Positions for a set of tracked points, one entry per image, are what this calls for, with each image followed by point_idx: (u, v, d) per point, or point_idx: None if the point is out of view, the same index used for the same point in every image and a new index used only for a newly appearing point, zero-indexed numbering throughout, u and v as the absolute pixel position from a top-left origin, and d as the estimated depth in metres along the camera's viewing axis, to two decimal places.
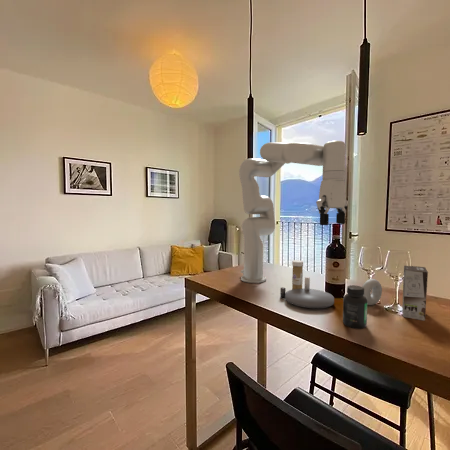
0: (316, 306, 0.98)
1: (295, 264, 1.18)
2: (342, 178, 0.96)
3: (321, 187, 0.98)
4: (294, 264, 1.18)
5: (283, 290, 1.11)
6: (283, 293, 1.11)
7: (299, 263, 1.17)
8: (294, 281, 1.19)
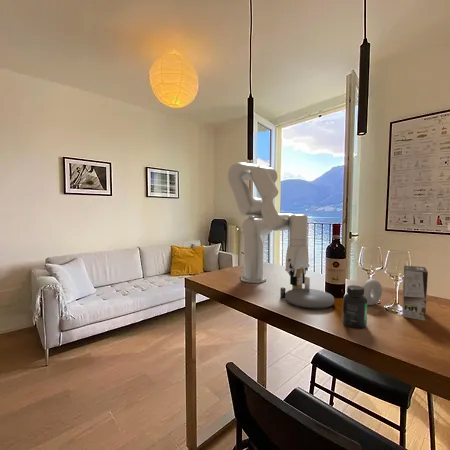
0: (316, 306, 0.98)
1: None
2: (304, 245, 1.16)
3: (287, 252, 1.18)
4: None
5: (283, 290, 1.11)
6: (283, 293, 1.11)
7: None
8: None
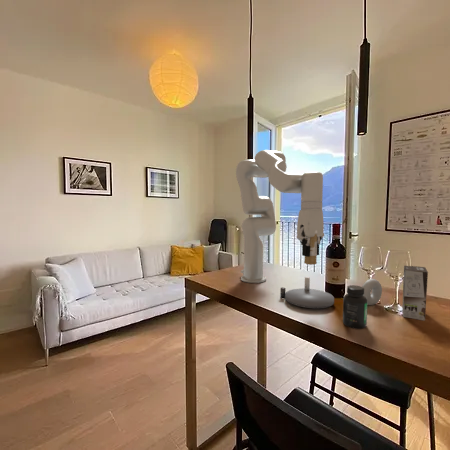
0: (316, 306, 0.98)
1: None
2: (319, 208, 0.98)
3: (299, 216, 1.00)
4: None
5: (283, 290, 1.11)
6: (283, 293, 1.11)
7: None
8: None
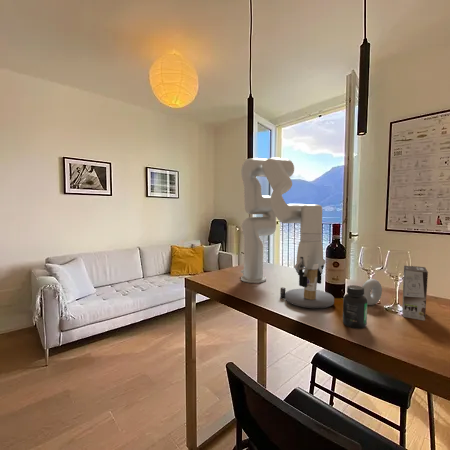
0: (316, 306, 0.98)
1: None
2: (319, 241, 0.99)
3: (299, 248, 1.01)
4: None
5: (283, 290, 1.11)
6: (283, 293, 1.11)
7: (314, 266, 1.00)
8: (307, 286, 1.02)
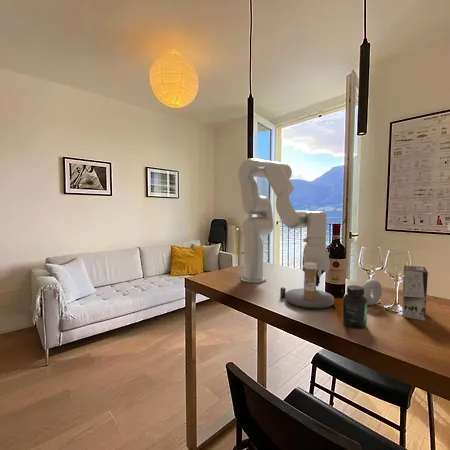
0: (316, 306, 0.98)
1: (308, 267, 1.01)
2: None
3: None
4: (307, 267, 1.01)
5: (283, 290, 1.11)
6: (283, 293, 1.11)
7: (312, 266, 1.00)
8: (306, 286, 1.02)
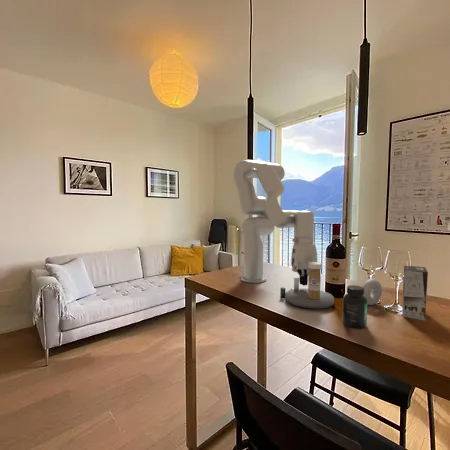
0: (328, 304, 0.99)
1: (316, 267, 1.01)
2: None
3: None
4: (314, 267, 1.01)
5: (283, 290, 1.11)
6: (283, 293, 1.11)
7: (320, 265, 1.01)
8: (314, 287, 1.01)
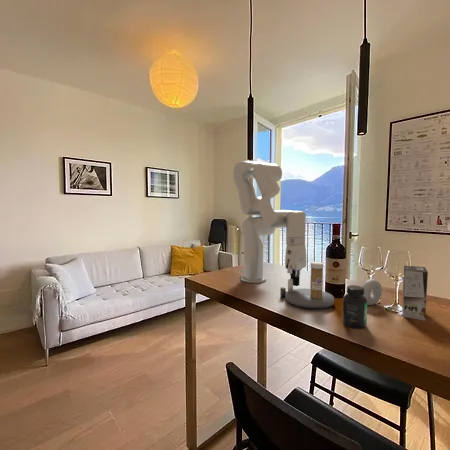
0: (333, 301, 1.02)
1: (321, 266, 1.02)
2: None
3: None
4: (319, 267, 1.01)
5: (283, 290, 1.11)
6: (283, 293, 1.11)
7: None
8: (319, 286, 1.02)
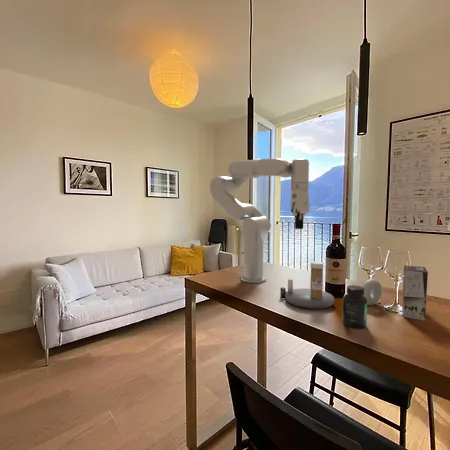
0: (333, 301, 1.02)
1: (321, 266, 1.02)
2: None
3: None
4: (319, 267, 1.01)
5: (283, 290, 1.11)
6: (283, 293, 1.11)
7: None
8: (319, 286, 1.02)
